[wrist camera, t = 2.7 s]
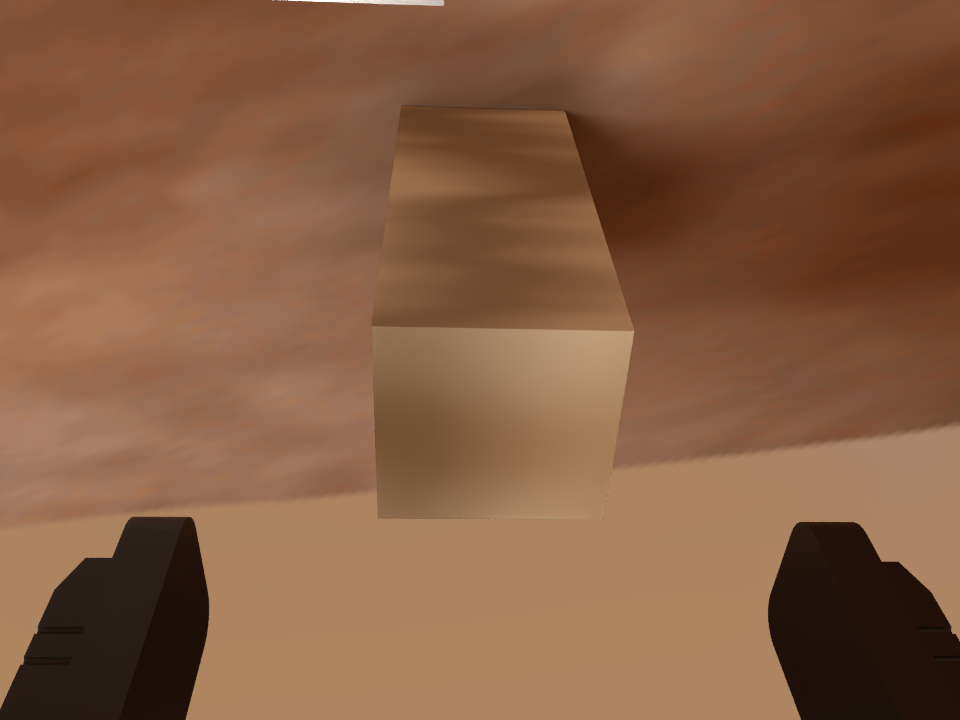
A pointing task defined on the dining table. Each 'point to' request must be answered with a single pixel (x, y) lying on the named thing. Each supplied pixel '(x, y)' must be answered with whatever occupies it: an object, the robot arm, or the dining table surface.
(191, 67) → the dining table surface
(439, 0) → the square slotted board
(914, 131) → the dining table surface
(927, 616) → the robot arm
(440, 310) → the wooden block
